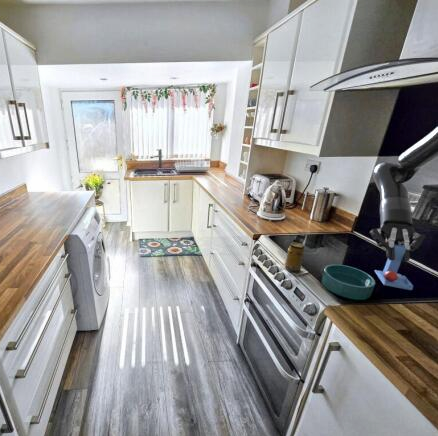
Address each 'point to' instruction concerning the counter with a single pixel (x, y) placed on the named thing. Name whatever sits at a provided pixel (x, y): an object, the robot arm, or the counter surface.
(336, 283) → the teal ribbed bowl
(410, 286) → the blue base with post
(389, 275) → the bead
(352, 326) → the counter surface
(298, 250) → the condiment
